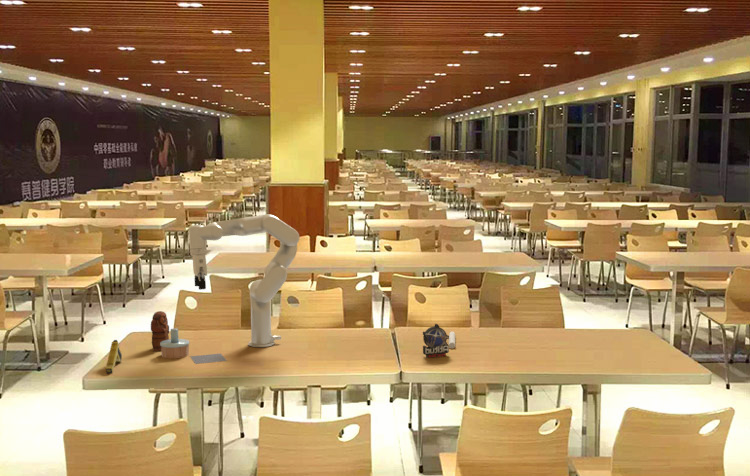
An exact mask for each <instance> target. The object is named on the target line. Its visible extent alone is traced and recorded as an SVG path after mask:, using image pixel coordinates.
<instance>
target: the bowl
mask: <svg viewBox="0 0 750 476" xmlns="http://www.w3.org/2000/svg"><path fill="white" fill-rule="evenodd" d="M189 347H190V344H189V345H187V346H183V347H176V348H166V347H162V346H161V351H160V352H161V353H160V354H161V358H163V359H167V360H168V359H171V360H172V359H182V358H185V357H188V356H189V355H190V354H189V353H190V348H189Z"/></svg>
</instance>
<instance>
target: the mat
mask: <svg viewBox="0 0 750 476" xmlns="http://www.w3.org/2000/svg"><path fill="white" fill-rule="evenodd" d="M189 357H190V359H191V360H192V361H193V362H194V364H195V365H197V364H207V363H210V364H211V363H216V362H217V363H218V362H220V363H221V362H228V361H227V359H226V357H224V355H223V354H222V353H211V354H203V355H202V354H201V355H193V356H192V355H190V356H189Z"/></svg>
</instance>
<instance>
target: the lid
mask: <svg viewBox="0 0 750 476" xmlns="http://www.w3.org/2000/svg"><path fill="white" fill-rule="evenodd" d="M187 345H189V346H190V340H188V339H186V338H179V328H176V327H175V328H171V329H170V338H169V340H164V341H162V342H160V346H162V347H166V348H176V347H183V346H187Z"/></svg>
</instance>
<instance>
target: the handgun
mask: <svg viewBox="0 0 750 476" xmlns="http://www.w3.org/2000/svg"><path fill="white" fill-rule="evenodd" d="M110 345H111V346H110V347H109V349H110V350H109V352H108V357H107V362H106V366H105V372H106V374H107V373H112V374H113V372H114V368H115V365H116V364H121V363H122V360H123V359H122V357H123V354H122V351H121V349H120V344H119V342H118V340H117V339H114V340H113V341H112V342H111V344H110Z"/></svg>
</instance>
